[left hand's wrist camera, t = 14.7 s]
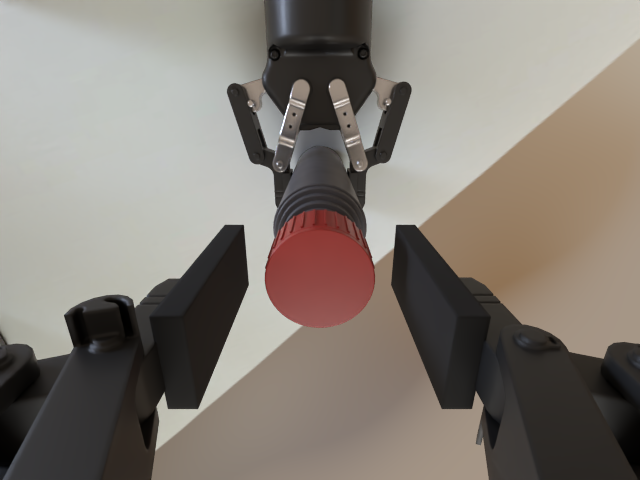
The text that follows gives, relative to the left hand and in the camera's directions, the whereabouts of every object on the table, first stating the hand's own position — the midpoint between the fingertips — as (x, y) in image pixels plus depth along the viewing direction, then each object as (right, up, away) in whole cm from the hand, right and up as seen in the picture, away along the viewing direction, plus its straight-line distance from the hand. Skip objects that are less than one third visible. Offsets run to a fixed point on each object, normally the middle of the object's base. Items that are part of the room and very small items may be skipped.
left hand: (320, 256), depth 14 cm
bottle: (0, +8, +20) cm, 22 cm away
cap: (0, -1, -2) cm, 2 cm away
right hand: (0, +3, +15) cm, 16 cm away
